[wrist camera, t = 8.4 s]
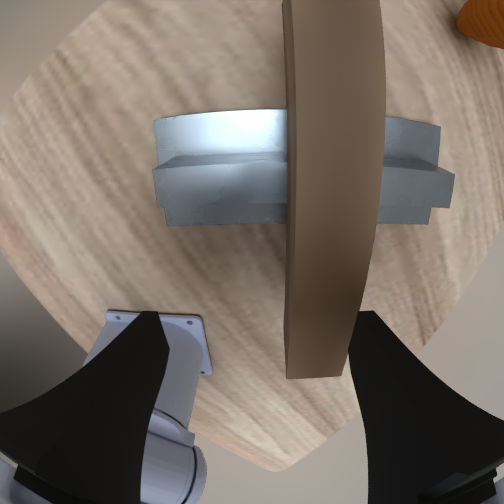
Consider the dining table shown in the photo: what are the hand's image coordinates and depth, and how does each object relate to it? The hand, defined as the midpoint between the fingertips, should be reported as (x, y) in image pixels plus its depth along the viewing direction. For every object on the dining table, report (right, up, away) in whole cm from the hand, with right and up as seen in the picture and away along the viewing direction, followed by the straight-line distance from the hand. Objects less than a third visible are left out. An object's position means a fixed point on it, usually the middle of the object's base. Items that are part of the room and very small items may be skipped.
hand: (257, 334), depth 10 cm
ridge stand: (+3, +8, +7) cm, 11 cm away
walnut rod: (+3, +6, +3) cm, 7 cm away
